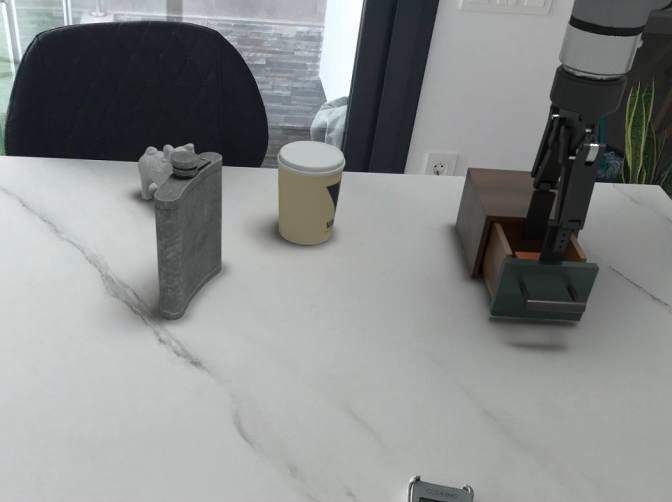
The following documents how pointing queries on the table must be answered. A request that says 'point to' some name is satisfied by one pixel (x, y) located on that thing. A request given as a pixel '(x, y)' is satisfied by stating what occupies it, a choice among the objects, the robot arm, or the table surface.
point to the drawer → (534, 277)
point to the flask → (188, 229)
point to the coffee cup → (308, 190)
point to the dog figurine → (157, 166)
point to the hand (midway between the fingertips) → (539, 254)
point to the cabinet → (492, 208)
